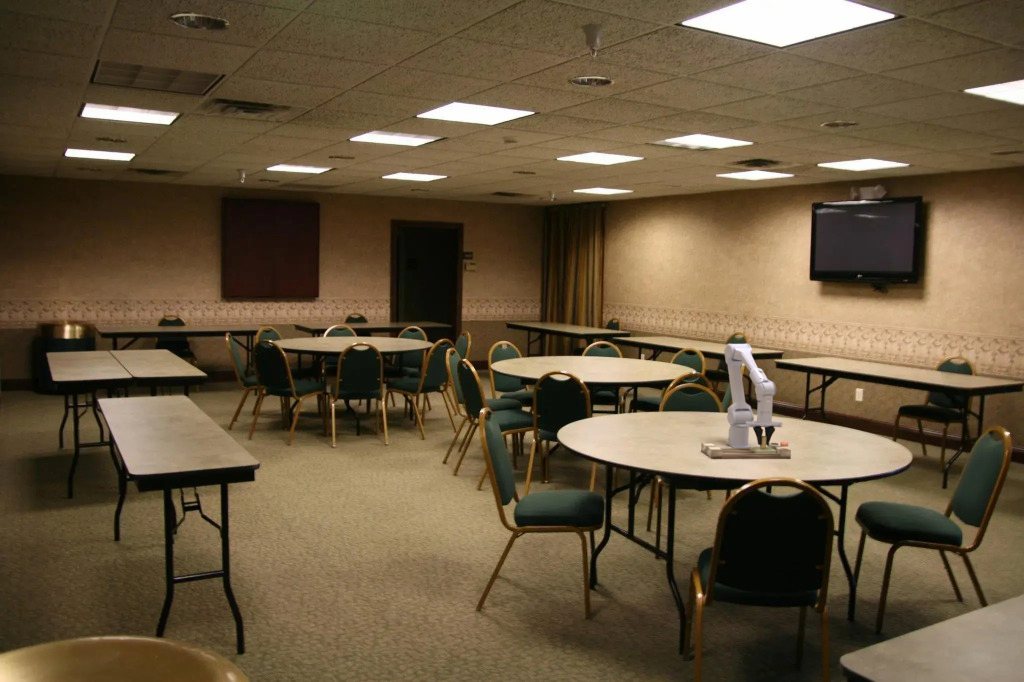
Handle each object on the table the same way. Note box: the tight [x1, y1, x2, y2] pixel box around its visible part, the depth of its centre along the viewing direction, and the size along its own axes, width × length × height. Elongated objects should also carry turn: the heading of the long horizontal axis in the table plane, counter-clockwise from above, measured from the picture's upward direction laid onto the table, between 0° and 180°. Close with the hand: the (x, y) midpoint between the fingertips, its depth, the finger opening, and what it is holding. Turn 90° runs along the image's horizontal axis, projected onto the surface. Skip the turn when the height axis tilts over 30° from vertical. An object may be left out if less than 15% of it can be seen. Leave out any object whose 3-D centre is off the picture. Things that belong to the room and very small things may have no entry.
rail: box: [700, 442, 792, 460], centre depth 322 cm, size 14×32×4 cm, turn 95°
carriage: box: [750, 435, 776, 453], centre depth 322 cm, size 7×8×6 cm
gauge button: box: [779, 441, 789, 448], centre depth 318 cm, size 3×3×1 cm
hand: (763, 444), depth 322 cm, fingers closed on carriage, 2 cm apart
